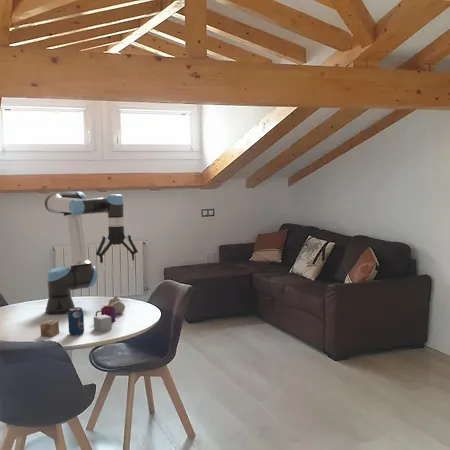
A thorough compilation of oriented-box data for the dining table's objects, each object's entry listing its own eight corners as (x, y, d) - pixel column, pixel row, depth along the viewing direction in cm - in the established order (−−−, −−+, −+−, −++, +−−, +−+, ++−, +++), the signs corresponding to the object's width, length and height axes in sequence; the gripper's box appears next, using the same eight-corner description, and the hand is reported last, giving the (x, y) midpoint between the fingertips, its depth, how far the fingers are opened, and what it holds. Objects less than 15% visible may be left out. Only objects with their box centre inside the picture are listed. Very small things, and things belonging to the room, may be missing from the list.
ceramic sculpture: (108, 299, 294) (101, 295, 308) (109, 316, 295) (102, 311, 308) (128, 297, 299) (121, 293, 312) (129, 313, 299) (121, 309, 313)
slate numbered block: (94, 329, 272) (93, 316, 272) (105, 326, 276) (104, 314, 276) (100, 331, 268) (100, 318, 267) (111, 329, 272) (111, 316, 271)
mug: (117, 321, 284) (116, 308, 283) (97, 324, 279) (97, 311, 279) (112, 318, 290) (112, 305, 289) (93, 321, 285) (93, 308, 284)
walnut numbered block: (40, 336, 262) (40, 323, 261) (47, 333, 268) (46, 319, 267) (52, 337, 260) (52, 323, 260) (59, 333, 266) (58, 320, 266)
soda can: (82, 335, 261) (81, 310, 260) (67, 336, 261) (66, 310, 260) (85, 331, 268) (84, 306, 267) (70, 332, 268) (69, 307, 266)
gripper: (91, 227, 272) (93, 271, 274) (142, 225, 281) (143, 267, 283) (89, 226, 279) (90, 268, 281) (139, 223, 288) (140, 265, 290)
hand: (117, 268), depth 282 cm, fingers open, 13 cm apart
